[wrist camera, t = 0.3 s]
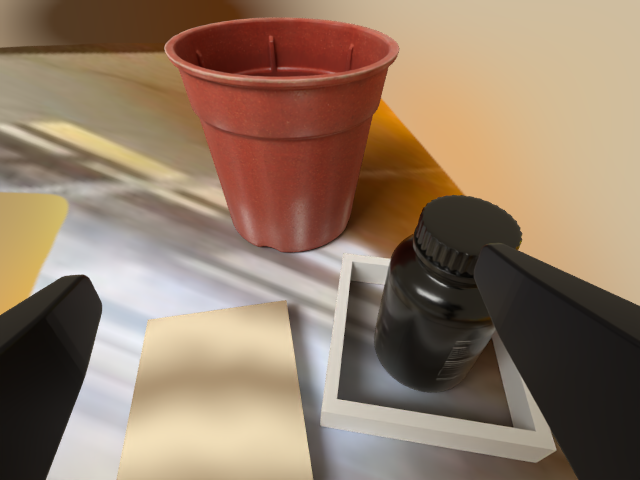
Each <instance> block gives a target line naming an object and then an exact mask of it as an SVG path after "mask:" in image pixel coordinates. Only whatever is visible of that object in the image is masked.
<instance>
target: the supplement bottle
mask: <svg viewBox="0 0 640 480" xmlns="http://www.w3.org/2000/svg"><path fill="white" fill-rule="evenodd" d="M521 236H522V232H521V231H520V227H519V225H518V224H517V221H516V220H514V219H513V218H512V216H511V215H510V214H508V213H507V212H506V211H505V210H503V209H501V208H499V207H498V206H497V205H493V204H492V203H490V202H488V201H484V200H482V199H479V198H474V197H470V196H463V195H460V196H457V195H452V196H444V197H438V198H437V199H435V200H432V201H431V202H430V203H427V205H426V207H424V208H423V210H422V213H421V215H420V218H419V222H418V225H417V227H416V229H415V232H414V234H412V235H410V236H409V237H407V238H406V239H404V240H403V241H402V242H401V243H400V244H399V245H398V246H397V247H396V249H395V250H394V252H393V254H392V256H391V259H390V263H389V267H388V271H387V276H386V281H385V285H384V290H383V295H382V299H381V304H380V309H379V313H378V318H377V323H376V328H375V333H374V345H375V350H376V354H377V356H378V359H379V361H380V362H381V364H382V366H383V367H384V368H385V370H386V371H387V372H388V373H389V374H390V375H391V376H392V377H393V378H394V379H396V380H397V381H398V382H400V383H401V384H403V385H405V386H407V387H409V388H411V389H414V390H418V391H422V392H430V393H431V392H442V391H446V390H449V389H451V388H453V387H455V386H456V385H458V384H459V383H460V382H461V381H462V380H463V379H464V378H465V377H466V375H467V374H468V372H469V371H470V369H471V368H472V366H473V365H474V363H475V362H476V360H477V359H478V357H479V356H480V354H481V353H482V351H483V350H484V348H485V346H486V345H487V343H488V342H489V340H490V339H491V337H492V336H493V334H494V333H495V331H496V329H495V327H494V324H493V322H492V320H491V317H490V315H489V313H488V310H487V308H486V306H485V303H484V301H483V299H482V296H481V294H480V291H479V289H478V287H477V284H476V282H475V279H474V269H475V266H476V263H477V260H478V257H479V254H480V251H481V249H482V247H483V246H484V245H486V244H494V243H502V244H505V245H507V246H509V247H512V248H514V249H516V250H518V249H519V246H520V244H521V242H522V238H521Z"/></svg>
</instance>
